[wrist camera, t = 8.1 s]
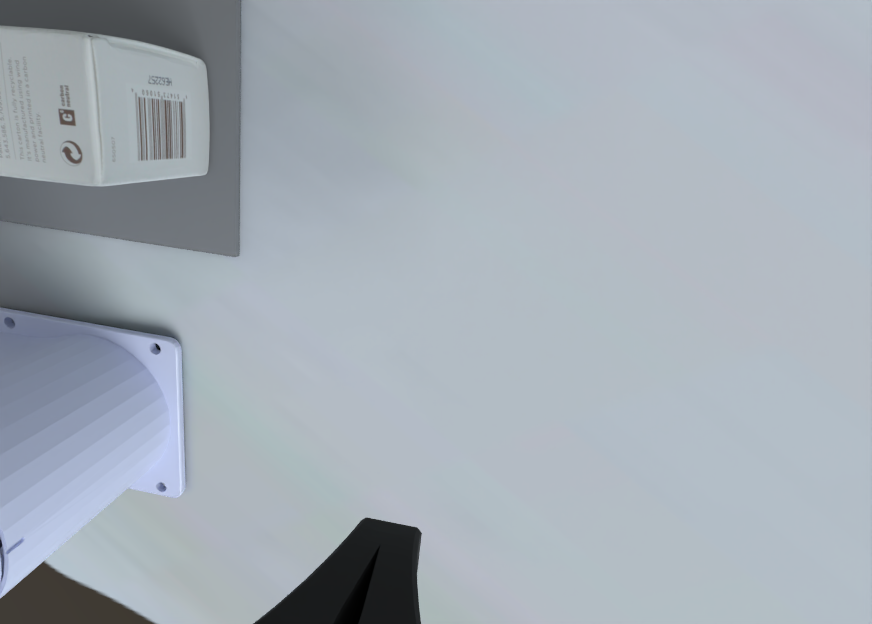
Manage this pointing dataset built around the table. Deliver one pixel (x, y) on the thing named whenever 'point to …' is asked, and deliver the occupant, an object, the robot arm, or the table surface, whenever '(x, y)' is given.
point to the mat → (163, 199)
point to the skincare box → (99, 109)
